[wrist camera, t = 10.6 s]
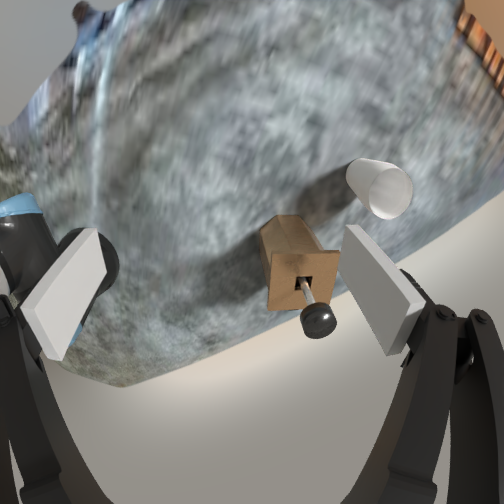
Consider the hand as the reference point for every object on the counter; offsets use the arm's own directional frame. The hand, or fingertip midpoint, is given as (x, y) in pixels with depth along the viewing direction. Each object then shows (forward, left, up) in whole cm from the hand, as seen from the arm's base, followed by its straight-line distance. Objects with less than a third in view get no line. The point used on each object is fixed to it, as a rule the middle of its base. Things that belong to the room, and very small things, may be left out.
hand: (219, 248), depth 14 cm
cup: (+26, -4, -37) cm, 45 cm away
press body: (+12, -19, -37) cm, 43 cm away
